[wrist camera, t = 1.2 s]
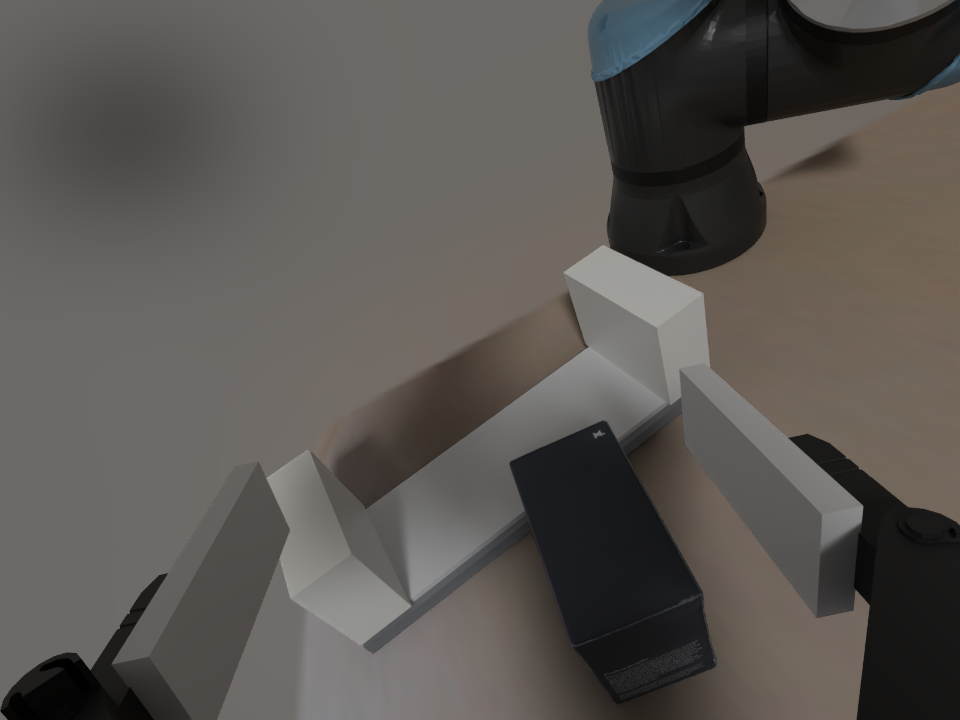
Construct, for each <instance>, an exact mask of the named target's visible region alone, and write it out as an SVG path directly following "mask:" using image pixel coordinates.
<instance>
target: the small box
mask: <svg viewBox="0 0 960 720" xmlns="http://www.w3.org/2000/svg"><path fill="white" fill-rule="evenodd" d="M509 465H510V469H511V472H512V474H513V477H514V480H515V483H516V486H517V489H518V492H519V495H520V498H521V501H522V504H523V507H524V510H525V512H526V515H527V518H528V521H529V524H530V527H531V530H532V533H533V536H534V539H535V542H536V545H537V548H538V551H539V554H540V557H541V560H542V563H543V566H544V569H545V572H546V574H547V577H548V580H549V583H550V586H551V589H552V592H553V595H554V598H555V601H556V604H557V607H558V610H559V613H560V616H561V619H562V622H563V625H564V628H565V631H566V634H567V636H568V639H569V642H570V644H571V646H572V647H573V648H574V649H575V651H576V652H577V653H578V654H579V656H580V657H581V658H582V660H583V661H584V662H585V664H586V665H587V666H588V668H589V669H590V670H591V672H592V673H593V674H594V675H595V677H596V678H597V680H598V681H599V682H600V684H601V685H602V686H603V688H604V689H605V690H606V692H607V693H608V695H609V696H610V697H611V699H612V700H613V701H614V702H615V703H617V704H618V703H622V702H624V701H627V700H630V699H632V698H635V697H638V696H641V695H644V694H646V693H649V692H651V691H654V690H657V689H659V688H662V687H665V686H667V685H670V684H672V683H675V682H678V681H680V680H683V679H685V678H688V677H691V676H694V675H696V674H699V673H701V672H704V671H706V670H709V669H712V668H714V667H715V666H716V664H717V659H716V657H715V654H714V650H713V647H712V644H711V639H710V635H709V630H708V625H707V622H706V618H705V617H706V616H705V612H704V603H703V600H704V599H703V592H702V590H701V588H700V587H699V585H698V583H697V581H696V579H695V578H694V576H693V574H692V572H691V570H690V569H689V567H688V565H687V563H686V561H685V559H684V558H683V556H682V554H681V552H680V550H679V549H678V547H677V545H676V543H675V542H674V540H673V538H672V537H671V534H670V533H669V531H668V529H667V527H666V525H665V524H664V522H663V520H662V518H661V517H660V515H659V513H658V511H657V509H656V507H655V506H654V504H653V502H652V500H651V498H650V497H649V495H648V493H647V491H646V489H645V488H644V486H643V484H642V482H641V481H640V479H639V477H638V476H637V474H636V472H635V470H634V468H633V466H632V465H631V463H630V461H629V460H628V458H627V455H626V454H625V452H624V450H623V449H622V447H621V445H620V443H619V442H618V440H617V438H616V436H615V435H614V433H613V431H612V429H611V427H610V426H609V424H608V422H607V421H605V420H602V421H599V422H597V423H595V424H593V425H591V426H588V427H586V428H584V429H582V430H579V431H577V432H575V433H572V434H570V435H568V436H566V437H563V438H561V439H559V440H557V441H554V442H552V443H549V444H548V445H545V446H543V447H540V448H538V449H536V450H534V451H532V452H529V453H527V454H525V455H523V456H520V457H518V458H516V459H513V460H511V461H510V462H509Z"/></svg>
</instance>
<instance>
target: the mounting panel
mask: <svg viewBox="0 0 960 720" xmlns="http://www.w3.org/2000/svg"><path fill="white" fill-rule="evenodd" d="M680 413H682V401H681V398H679V399H678V400H677V401H676V402H674V403H673V404H672V405H669V404H668V403H667V402H665V401H664V400H662V399H661V398H660V397H658V396H657V395H655V394H654V393H653V392H651V391H650V390H649V389H647V388H646V387H644V386H643V385H642V384H640V383H639V382H637V381H636V380H635V379H633V378H632V377H630V376H629V375H628V374H626V373H625V372H624V371H622V370H621V369H619V368H618V367H617V366H615V365H614V364H612V363H611V362H610V361H608V360H607V359H605V358H604V357H603V356H601V355H600V354H598V353H597V352H596V351H594V350H593V349H592V348H590V347H587V348H586V349H585V350H583V351H582V352H580V353H579V354H578V355H576V356H575V357H574V358H572V359H571V360H569V361H568V362H567V363H565V364H564V365H563V366H561V367H560V368H558V369H557V370H556V371H554V372H553V373H552V374H550V375H549V376H547V377H546V378H545V379H543V380H542V381H541V382H539V383H538V384H536V385H535V386H534V387H532V388H531V389H530V390H528V391H527V392H525V393H524V394H523V395H521V396H520V397H519V398H517V399H516V400H514V401H513V402H512V403H510V404H509V405H508V406H506V407H505V408H503V409H502V410H501V411H499V412H498V413H497V414H495V415H494V416H492V417H491V418H490V419H488V420H487V421H486V422H484V423H483V424H482V425H480V426H479V427H477V428H476V429H475V430H473V431H472V432H471V433H469V434H468V435H466V436H465V437H464V438H462V439H461V440H460V441H458V442H457V443H455V444H454V445H453V446H451V447H450V448H449V449H447V450H446V451H444V452H443V453H442V454H440V455H439V456H438V457H436V458H435V459H433V460H432V461H431V462H429V463H428V464H427V465H425V466H424V467H422V468H421V469H420V470H418V471H417V472H416V473H414V474H413V475H411V476H410V477H409V478H407V479H406V480H405V481H403V482H402V483H400V484H399V485H398V486H396V487H395V488H394V489H392V490H391V491H389V492H388V493H387V494H385V495H384V496H383V497H381V498H380V499H379V500H377V501H376V502H374V503H373V504H372V505H370V506H369V507H368V508H366V511H367V513H368V515H369V517H370V520H371V522H372V524H373V526H374V528H375V530H376V532H377V534H378V536H379V539H380V541H381V543H382V545H383V547H384V549H385V551H386V553H387V555H388V557H389V560H390V562H391V564H392V566H393V568H394V570H395V572H396V574H397V576H398V579H399V581H400V583H401V585H402V587H403V589H404V591H405V593H406V595H407V597H408V600H409V602H410V604H411V607H410V608H409V609H408V610H406V611H405V612H404V613H402V614H401V615H400V616H399V617H397V618H396V619H395V620H393V621H392V622H391V623H389V624H388V625H387V626H386V627H384V628H383V629H382V630H380V631H379V632H378V633H377V634H375V635H374V636H373V637H371V638H370V639H369V640H368V641H366V642H365V643H364V644H363V645H364V647H365V649H367V650H368V651H370V652H371V653H373V654H374V653H375V652H376V651H377V650H379V649H380V648H381V647H383V646H384V645H385V644H386V643H388V642H389V641H390V640H392V639H393V638H394V637H395V636H397V635H398V634H399V633H400V632H402V631H403V630H404V629H406V628H407V627H408V626H409V625H411V624H412V623H413V622H415V621H416V620H417V619H418V618H420V617H421V616H422V615H423V614H425V613H426V612H427V611H429V610H430V609H431V608H432V607H434V606H435V605H436V604H438V603H439V602H440V601H441V600H443V599H444V598H445V597H446V596H448V595H449V594H450V593H452V592H453V591H454V590H455V589H457V588H458V587H459V586H461V585H462V584H463V583H464V582H466V581H467V580H468V579H470V578H471V577H472V576H473V575H475V574H476V573H477V572H478V571H480V570H481V569H482V568H484V567H485V566H486V565H487V564H489V563H490V562H491V561H493V560H494V559H495V558H496V557H498V556H499V555H500V554H501V553H503V552H504V551H505V550H507V549H508V548H509V547H510V546H512V545H513V544H514V543H516V542H517V541H518V540H519V539H521V538H522V537H523V536H524V535H526V534H527V533H528V532H530V531H531V527H530V524H529V521H528V518H527V515H526V512H525V510H524V507H523V504H522V501H521V498H520V495H519V492H518V489H517V486H516V483H515V480H514V477H513V474H512V472H511V469H510V465H509V462H510V461H511V460H513V459H516V458H518V457H520V456H523V455H525V454H527V453H529V452H532V451H534V450H536V449H538V448H540V447H543V446H545V445H548V444H549V443H552V442H554V441H557V440H559V439H561V438H563V437H566V436H568V435H570V434H572V433H575V432H577V431H579V430H582V429H584V428H586V427H588V426H591V425H593V424H595V423H597V422H599V421H602V420H605V421H607V422H608V424H609V426H610V427H611V429H612V431H613V433H614V435H615V436H616V438H617V440H618V442H619V443H620V445H621V447H622V449H623V450H624V452H625V454H626V455H628V454H629V453H631V452H632V451H633V450H634V449H636V448H637V447H638V446H639V445H641V444H642V443H643V442H645V441H646V440H647V439H648V438H650V437H651V436H652V435H654V434H655V433H656V432H657V431H659V430H660V429H661V428H662V427H664V426H665V425H666V424H668V423H669V422H670V421H671V420H673V419H674V418H675V417H677V416H678V415H679V414H680Z"/></svg>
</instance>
